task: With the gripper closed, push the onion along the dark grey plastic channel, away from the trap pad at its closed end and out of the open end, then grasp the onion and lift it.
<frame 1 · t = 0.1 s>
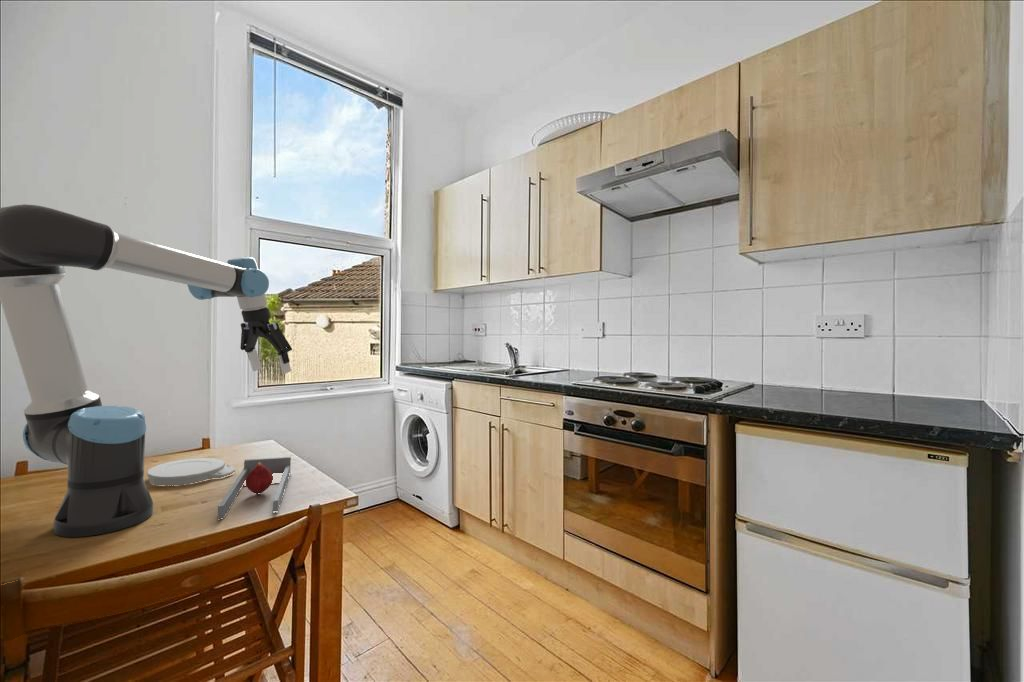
hand: (271, 371, 140), 28 cm above the table, tool tilted 20°, fingers open, 13 cm apart
channel: (258, 494, 108), on the table
onion: (258, 495, 108), on the table
lid: (193, 477, 119), on the table
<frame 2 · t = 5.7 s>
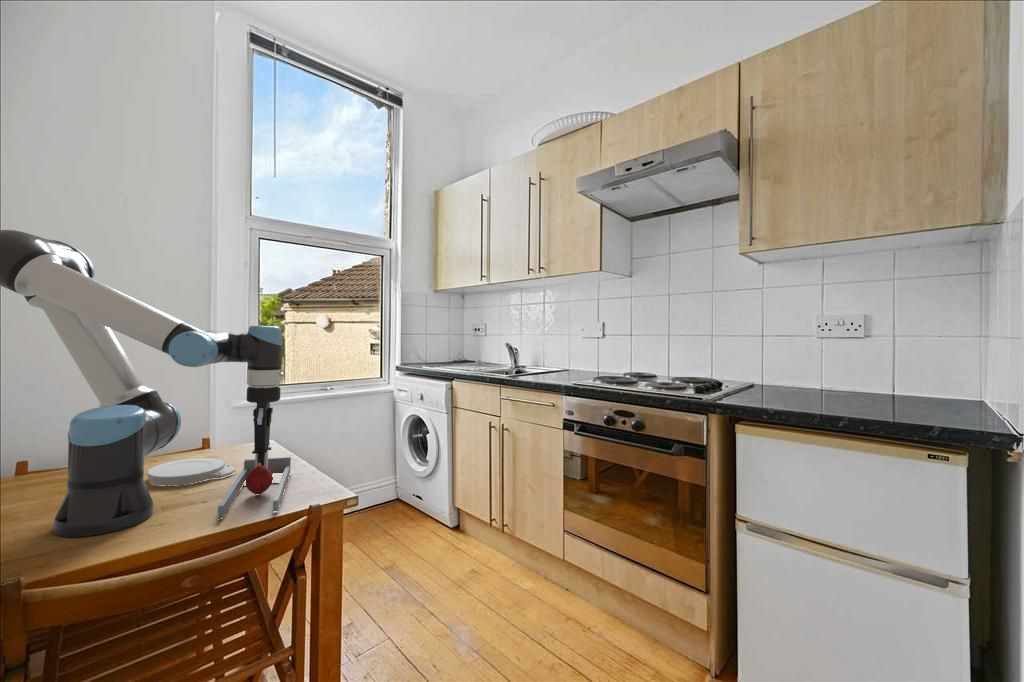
hand: (261, 477, 110), 3 cm above the table, tool pointing down, fingers closed
onion: (258, 495, 107), on the table, touching gripper
everything else where it was.
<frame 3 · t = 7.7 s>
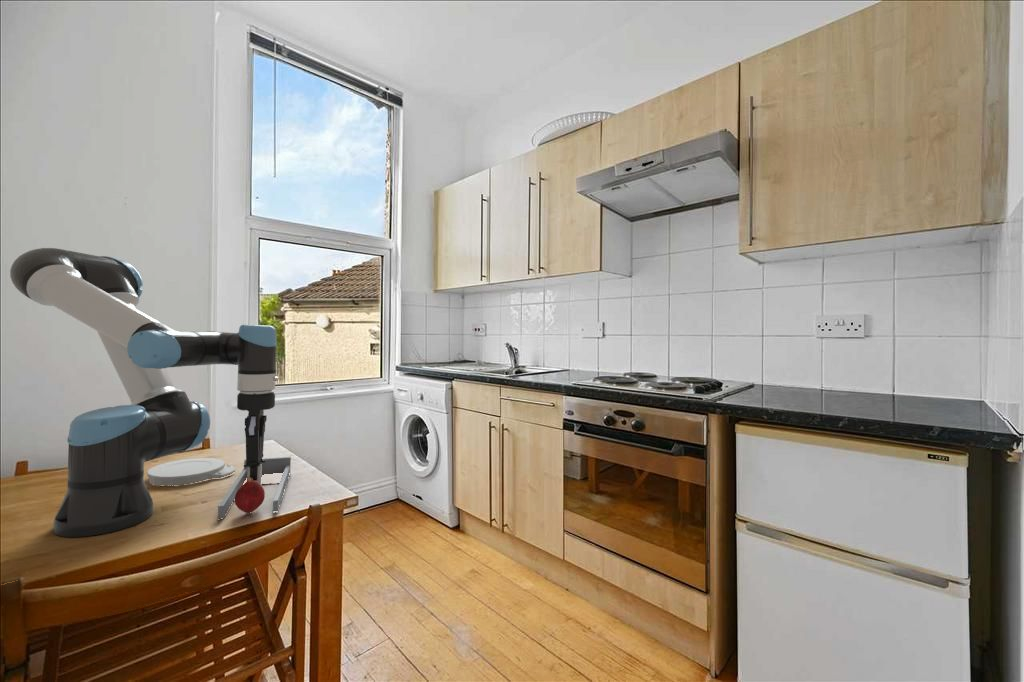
hand: (254, 492, 100), 3 cm above the table, tool pointing down, fingers closed
onion: (249, 513, 96), on the table, touching gripper
everything else where it was.
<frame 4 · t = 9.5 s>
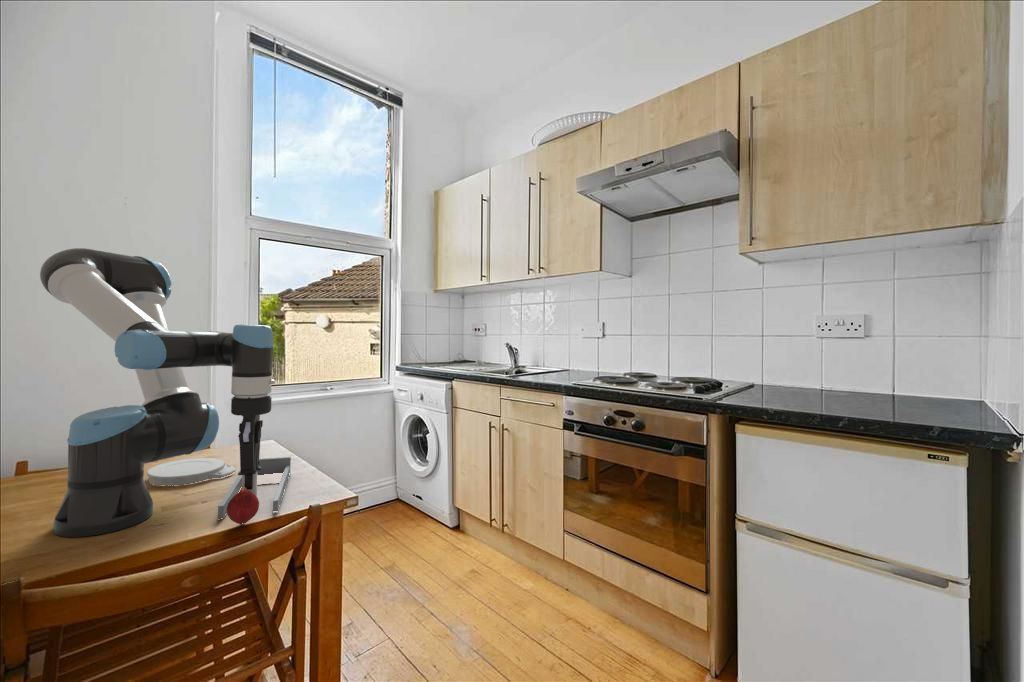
hand: (249, 502, 94), 3 cm above the table, tool pointing down, fingers closed
onion: (242, 525, 91), on the table, touching gripper
everything else where it was.
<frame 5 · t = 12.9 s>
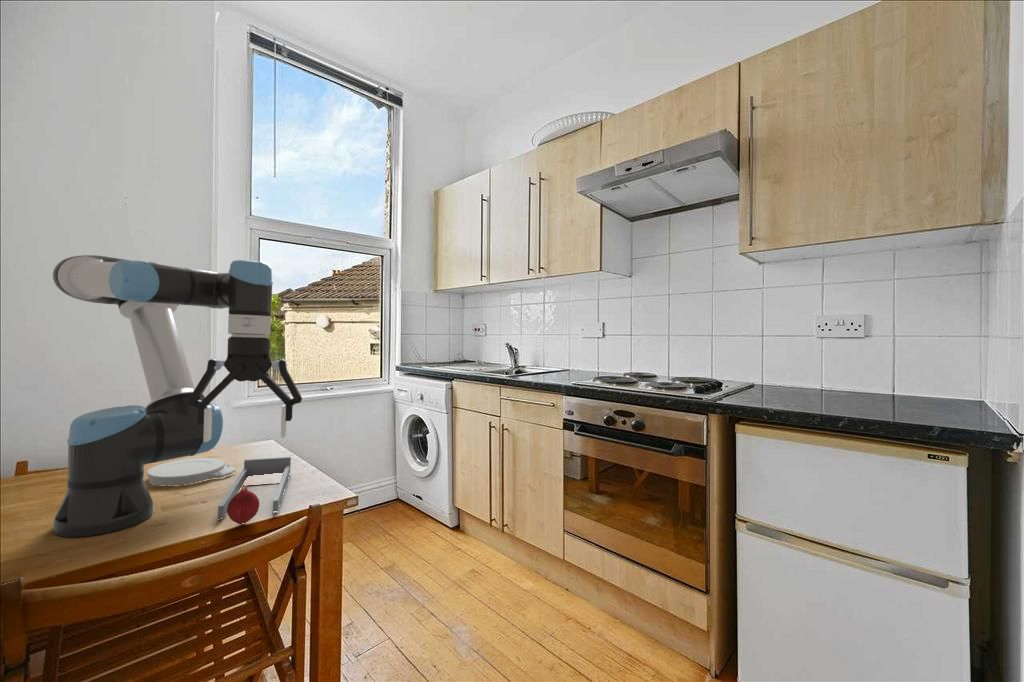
hand: (246, 438, 89), 19 cm above the table, tool pointing down, fingers open, 13 cm apart
onion: (242, 525, 91), on the table
everything else where it was.
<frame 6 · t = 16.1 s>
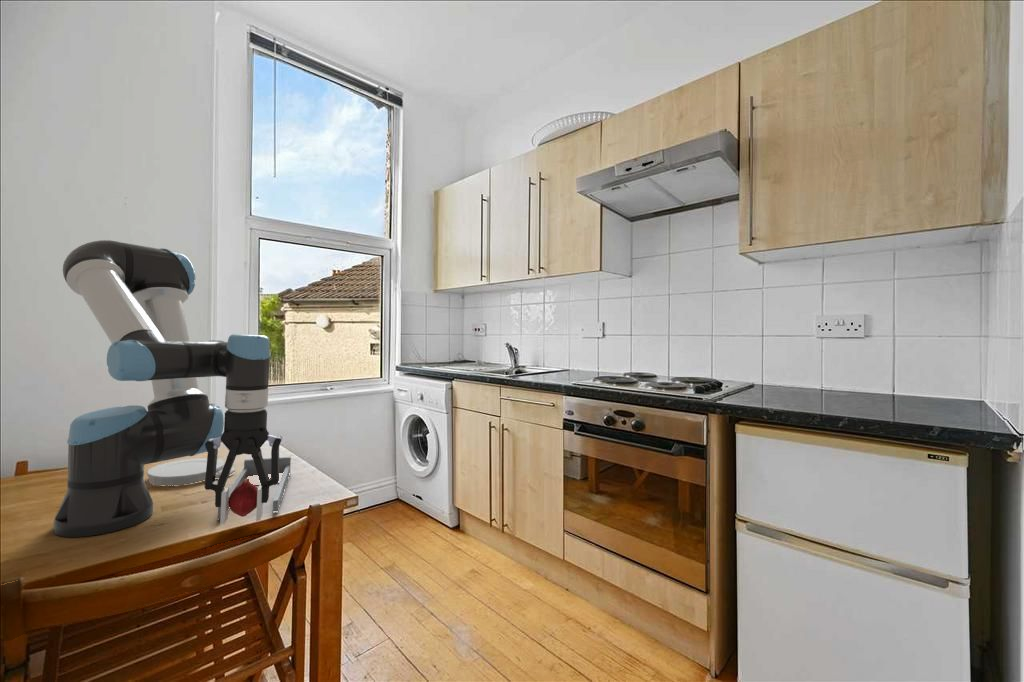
hand: (241, 519, 89), 2 cm above the table, tool pointing down, fingers closed on onion, 6 cm apart
onion: (243, 517, 91), point 1 cm above the table, touching gripper
everything else where it was.
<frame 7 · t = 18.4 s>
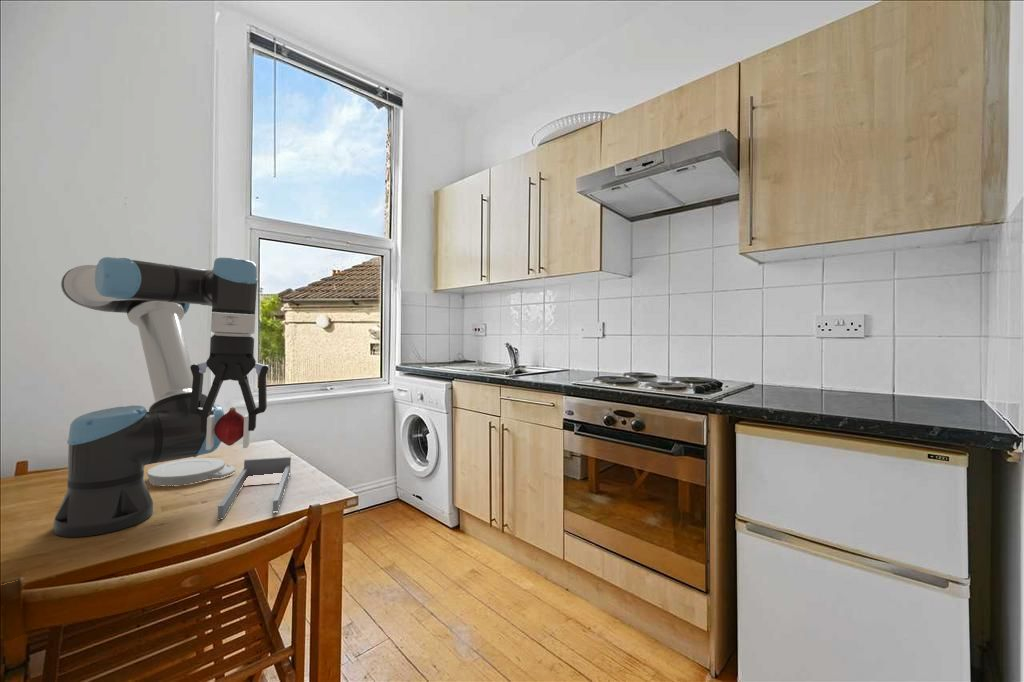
hand: (228, 446, 88), 17 cm above the table, tool pointing down, fingers closed on onion, 6 cm apart
onion: (229, 446, 90), point 17 cm above the table, touching gripper
everything else where it was.
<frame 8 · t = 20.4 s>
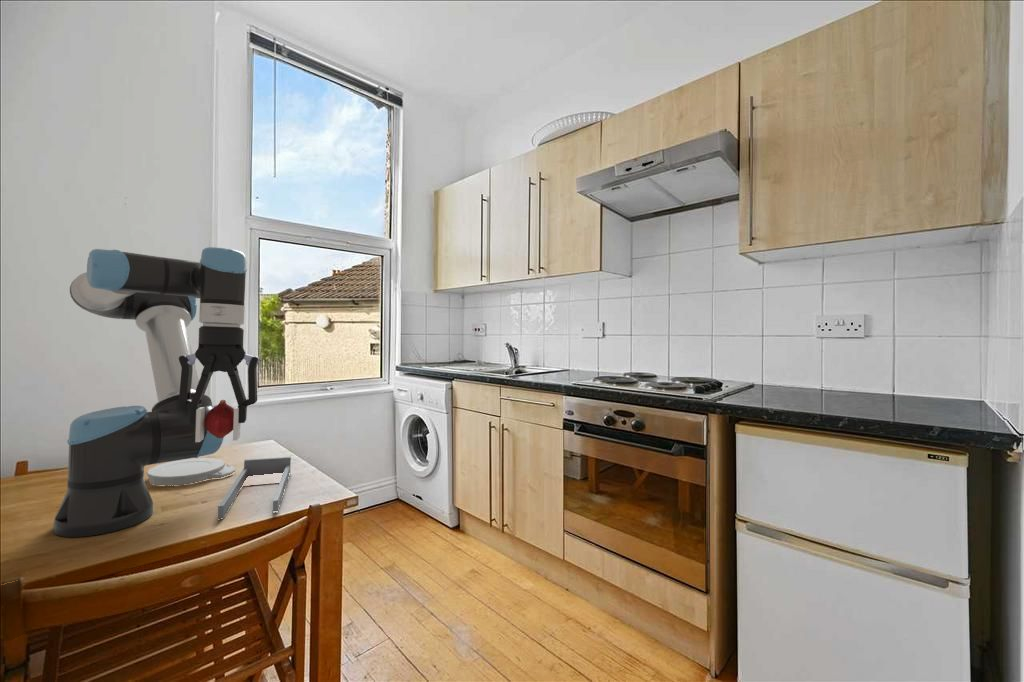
hand: (218, 439, 87), 19 cm above the table, tool pointing down, fingers closed on onion, 6 cm apart
onion: (220, 439, 89), point 18 cm above the table, touching gripper
everything else where it was.
at the end: the gripper is holding onion; onion inside the target area (8.3 cm from its centre), point 18.3 cm above the table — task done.
